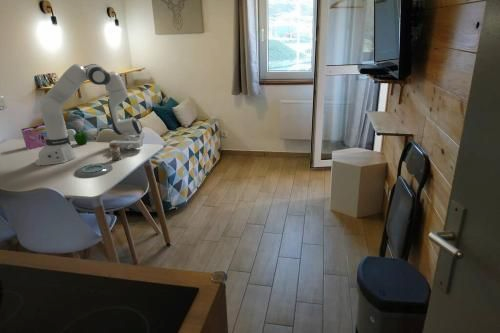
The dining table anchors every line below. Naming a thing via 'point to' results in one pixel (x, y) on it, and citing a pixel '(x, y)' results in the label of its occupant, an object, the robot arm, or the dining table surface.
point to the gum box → (34, 136)
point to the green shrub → (80, 138)
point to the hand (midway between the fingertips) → (120, 147)
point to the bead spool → (115, 151)
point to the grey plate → (93, 170)
